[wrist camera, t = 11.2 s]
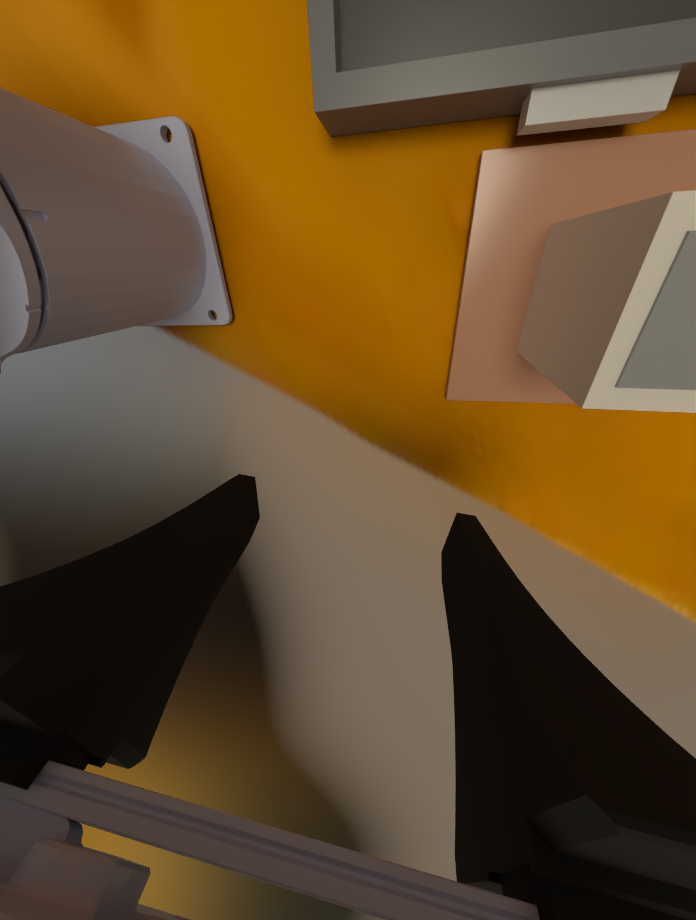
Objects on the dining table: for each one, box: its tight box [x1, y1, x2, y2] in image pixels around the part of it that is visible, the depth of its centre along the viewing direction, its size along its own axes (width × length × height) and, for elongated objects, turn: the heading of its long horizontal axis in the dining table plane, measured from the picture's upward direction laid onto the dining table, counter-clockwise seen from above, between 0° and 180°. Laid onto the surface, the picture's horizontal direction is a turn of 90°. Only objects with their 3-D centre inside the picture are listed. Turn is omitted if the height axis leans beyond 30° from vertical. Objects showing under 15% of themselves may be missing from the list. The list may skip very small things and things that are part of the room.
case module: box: [517, 190, 696, 413], centre depth 10 cm, size 4×5×7 cm
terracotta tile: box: [445, 129, 696, 404], centre depth 14 cm, size 10×10×1 cm
